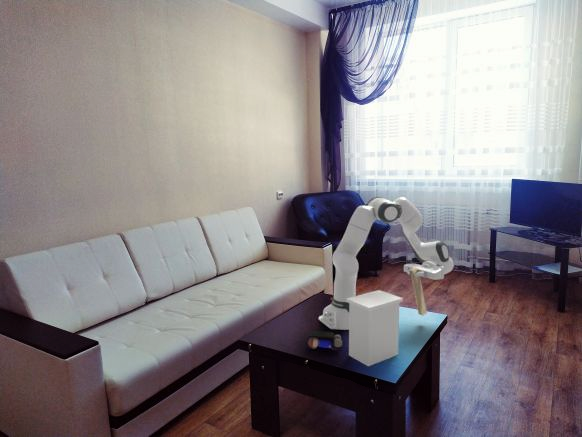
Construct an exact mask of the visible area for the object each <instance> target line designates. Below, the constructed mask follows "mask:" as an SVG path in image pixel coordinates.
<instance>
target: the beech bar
mask: <svg viewBox="0 0 582 437" xmlns="http://www.w3.org/2000/svg"><path fill="white" fill-rule="evenodd" d="M416 272H419V269H417V268H412V269H411V270H410V273H411V275H410V277H411V282H412V287H413V292H414V297H415V303H416V308H417V312H418V313H417V314H418V315H420V316H425V315H427V305H426V302H425V296H424V290H423V286H422V280H421V276H418V277H417V276H414V275H415V274H414V273H416Z"/></svg>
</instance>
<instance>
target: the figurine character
mask: <svg viewBox="0 0 582 437" xmlns="http://www.w3.org/2000/svg"><path fill="white" fill-rule="evenodd" d="M308 337H309V339H308V340H307V344H308V347H309V348H310V349H317V347H319V348H323V349H325V348H326V349H330V350H334V351H336V350H338V349H337V348H340V347H342V345H343V340H342V336H341V335H340V334H335V332H334V331H323V330H322V331H321V330H309V333H308ZM318 338H320V339H318ZM324 339H332V341H331V340H324Z"/></svg>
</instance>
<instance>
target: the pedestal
mask: <svg viewBox="0 0 582 437" xmlns="http://www.w3.org/2000/svg"><path fill="white" fill-rule="evenodd" d="M346 302H348V303H349V330H348V334H349V335H348V356H349V357H351V358H352V359H354V360H356V361H358V362H360V363H362V364H363V365H365V366H367V367H370V366H374V365H375V364H379V363H381V362H383V361H386V360H388V359H390V358H393V357H396V356H398V355H399V334H400V333H399V329H400V328H399V327H400V303H403V302H404V298H403V297H400V296H398V295H394V294H392V293H390V292H386V291H382V290H380V289H377V290H373V291H370V292H365V293H363V294H358V295H355V296H354V297H350V298H346Z"/></svg>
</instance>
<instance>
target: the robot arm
mask: <svg viewBox="0 0 582 437" xmlns="http://www.w3.org/2000/svg"><path fill="white" fill-rule="evenodd" d="M423 219H424V218H423V215H422V213H421V212H420V211H419V210H418V209H417V207H416V206H415V205H414V204H413V203H412V202H411V201H410V200H408V198H406V197H402V196H400V197H398V198H396V199H394V200H393V201H391V200H389V199H388V198H383V197H381V196H378V197H377V196H376V197H372V198H371V199H370V200H369V201H368V202H367V203H365V205H359V206H358V207H356V208H355V210H354V212H353V214H352V216H351V217H350V219H349V222H348V224H347V227H346V230H345V232H344V234H343V237H342V239H341V240H340V241H339V243H338V245H337V247H336V249H335V250H334V252H333V254H332V257H331V258H332V260H331V261H332V263H333V265H334V267H335V278H334V281H333V296H332V297H331V298H330V301H331V303H330V304H329V305H327V306H326V307H324V309H323V311H322V315H319V317H318V320H319V321H320V322H321V323H322V324H323V325H325V326H326V327H328V328H329V329H330V330H341V331H342V330H344V331H346V330H348V331H349V303H348V302H346V298H350V297H354V296H357V295H356V294H357V293H356V285H357V284H356V283H357V280H358V279H357V278H358V272H359V269H360V268H359V262H358V259H357V255H358V254H359V252H360V250H361V248H362V247H364V245H365V243H366V240H367V239H368V236H369V234H370V231H371V228H372V226H373V224H374V223H375V221H377V220H378V221H381V222H382V223H387V224H388V223H389V224H391V223H393V222H395V221H396V220H397V221H398V222H399V224H400V225H401V232H402V234H403V237H404V238H405V239H406V241H407V242H408V244H409V246H410V248H411V250H412V252H413V254H414V257H415V258H416V259H417V260H418V261H419V262H422V264H418V263H406V264H404V265H403V273H407V275H409V276H411V273H410V270H411V269H412V268H417V269H419V272H416V273H414V274H415V275H414V276H417V277H418V276H420V277H423V278H427V279H430V280H432V281H433V280H437V281H438V280H444V277H445V275H447V274H448V273H450V272H452V271H453V269H454V267H455V263H454V260H453V259H452V258H451V257H450V251H449V250H450V249H449V248H448V245H447V244H446V243H445V242H443V240H436V241H430V242H422V241H421V239H420V238H419V236H418V235H417V233H416V232H418V230H419V229H420V228H421V227H422V226H423V223H424V222H423V221H424V220H423Z"/></svg>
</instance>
